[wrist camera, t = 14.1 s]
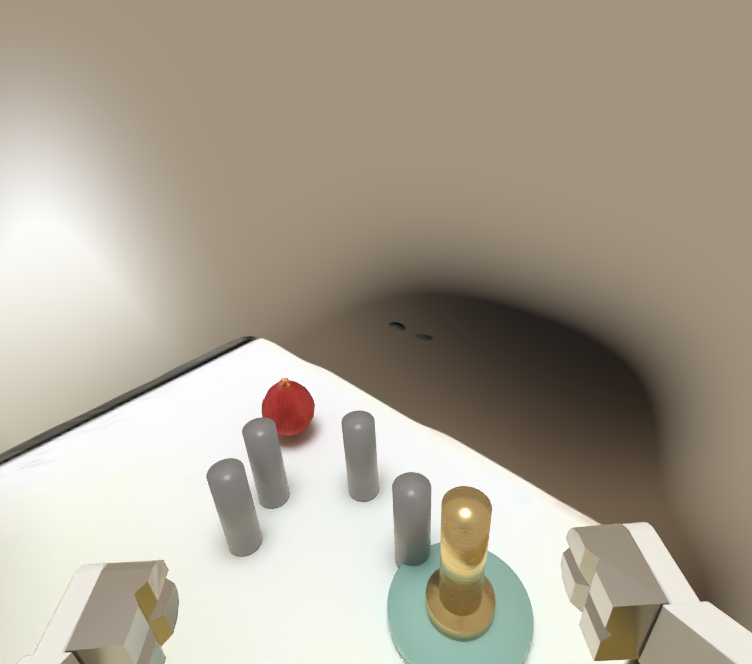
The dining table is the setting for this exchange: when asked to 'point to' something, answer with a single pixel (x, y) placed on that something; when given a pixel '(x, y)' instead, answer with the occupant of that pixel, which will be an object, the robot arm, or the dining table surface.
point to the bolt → (462, 568)
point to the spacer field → (274, 491)
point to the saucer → (449, 657)
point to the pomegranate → (288, 407)
